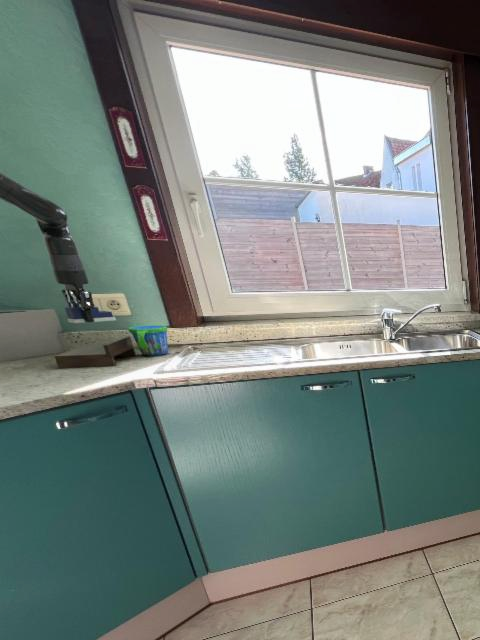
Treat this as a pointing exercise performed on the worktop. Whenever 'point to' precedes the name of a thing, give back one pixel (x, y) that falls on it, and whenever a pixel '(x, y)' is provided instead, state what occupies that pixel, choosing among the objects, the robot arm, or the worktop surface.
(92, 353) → the wooden display stand
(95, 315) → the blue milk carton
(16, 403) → the worktop surface
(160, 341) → the snack cup
